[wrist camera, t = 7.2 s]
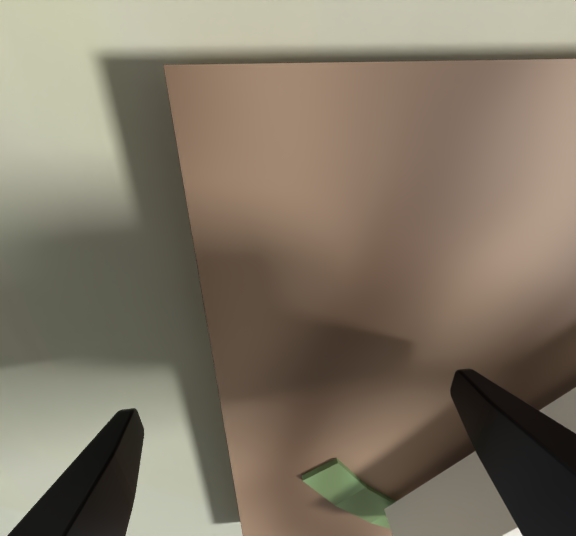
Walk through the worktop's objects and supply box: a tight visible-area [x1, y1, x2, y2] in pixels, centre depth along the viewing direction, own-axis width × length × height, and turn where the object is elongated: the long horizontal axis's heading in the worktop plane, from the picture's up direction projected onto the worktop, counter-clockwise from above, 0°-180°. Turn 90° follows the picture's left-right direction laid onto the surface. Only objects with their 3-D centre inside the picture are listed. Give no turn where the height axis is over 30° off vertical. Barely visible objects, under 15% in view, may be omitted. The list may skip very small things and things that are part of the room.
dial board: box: [164, 59, 576, 536], centre depth 13 cm, size 22×20×2 cm
